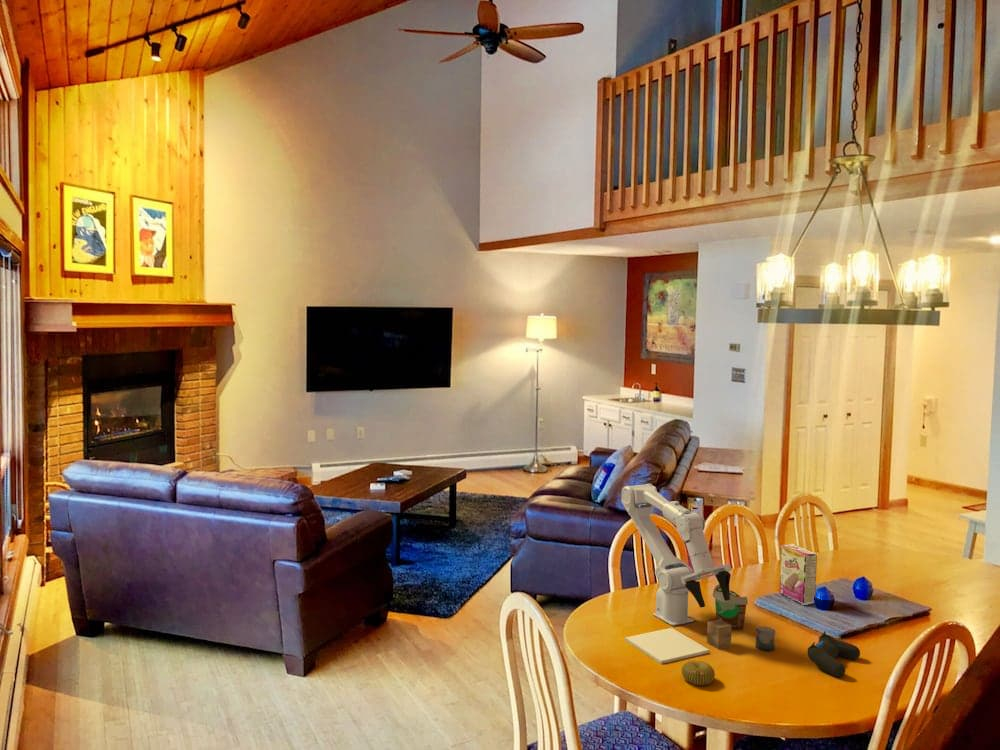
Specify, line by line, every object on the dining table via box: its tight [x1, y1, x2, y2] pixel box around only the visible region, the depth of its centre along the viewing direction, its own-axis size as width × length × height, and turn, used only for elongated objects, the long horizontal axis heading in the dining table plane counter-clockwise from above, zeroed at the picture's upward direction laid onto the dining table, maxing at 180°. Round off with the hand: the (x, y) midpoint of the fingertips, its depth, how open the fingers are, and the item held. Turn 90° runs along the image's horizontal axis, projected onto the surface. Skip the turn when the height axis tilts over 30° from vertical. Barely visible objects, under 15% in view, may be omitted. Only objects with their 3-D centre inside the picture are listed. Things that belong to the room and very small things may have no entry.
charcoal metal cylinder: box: [754, 626, 776, 653], centre depth 215 cm, size 5×5×5 cm
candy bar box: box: [779, 543, 818, 603], centre depth 251 cm, size 11×5×16 cm, turn 22°
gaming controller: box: [806, 630, 861, 678], centre depth 206 cm, size 17×6×10 cm
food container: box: [712, 584, 749, 631], centre depth 231 cm, size 12×6×10 cm, turn 21°
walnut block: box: [706, 619, 732, 650], centre depth 217 cm, size 4×4×6 cm
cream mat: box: [624, 627, 710, 665], centre depth 216 cm, size 16×16×1 cm
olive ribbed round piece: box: [681, 660, 716, 686], centre depth 196 cm, size 8×4×8 cm
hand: (715, 603), depth 218 cm, fingers open, 7 cm apart
